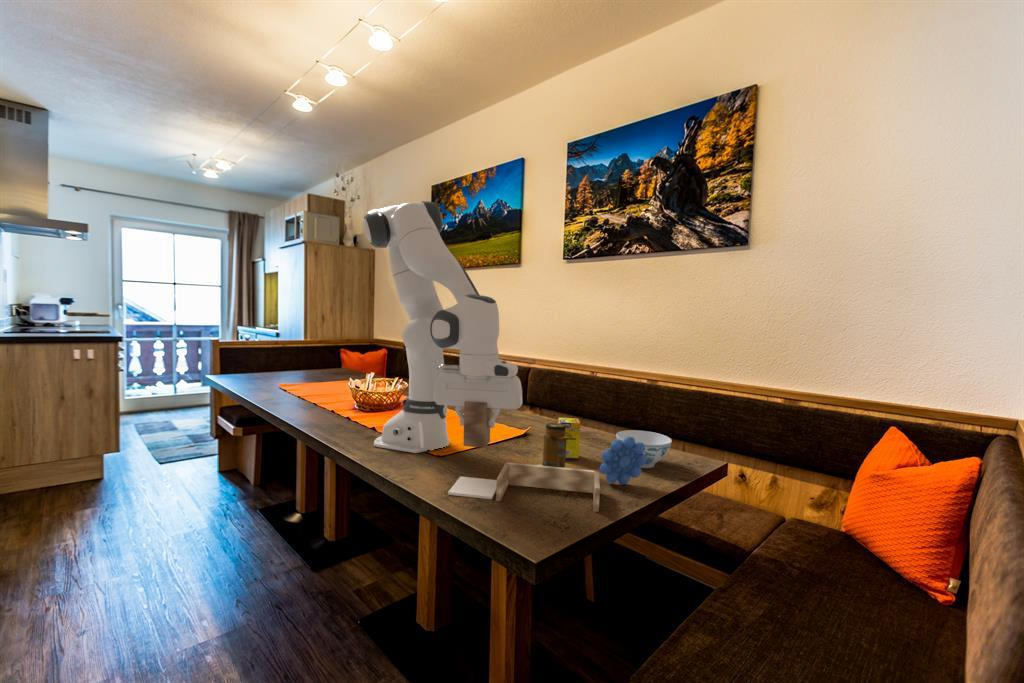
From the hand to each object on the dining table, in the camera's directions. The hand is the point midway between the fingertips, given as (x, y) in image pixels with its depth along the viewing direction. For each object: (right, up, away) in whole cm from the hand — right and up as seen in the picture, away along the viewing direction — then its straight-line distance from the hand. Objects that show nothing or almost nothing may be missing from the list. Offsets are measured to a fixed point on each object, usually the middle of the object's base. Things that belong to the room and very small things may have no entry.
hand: (477, 426), depth 104 cm
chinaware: (+45, -15, +24) cm, 53 cm away
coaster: (-1, -15, +1) cm, 15 cm away
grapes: (+35, -16, +8) cm, 39 cm away
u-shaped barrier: (+16, -16, -2) cm, 22 cm away
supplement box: (+24, -14, +27) cm, 39 cm away
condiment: (+19, -15, +16) cm, 29 cm away
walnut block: (0, -4, 0) cm, 4 cm away
